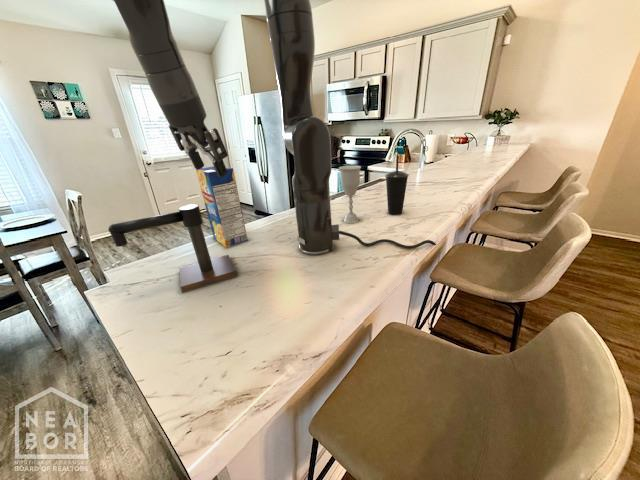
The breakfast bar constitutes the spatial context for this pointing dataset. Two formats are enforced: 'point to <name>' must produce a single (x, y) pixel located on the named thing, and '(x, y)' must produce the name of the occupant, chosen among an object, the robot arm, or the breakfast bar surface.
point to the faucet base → (204, 265)
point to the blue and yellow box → (222, 206)
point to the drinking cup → (396, 190)
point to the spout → (156, 223)
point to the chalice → (350, 187)
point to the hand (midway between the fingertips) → (211, 171)
